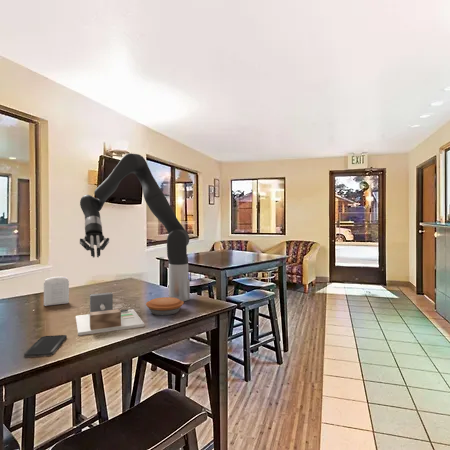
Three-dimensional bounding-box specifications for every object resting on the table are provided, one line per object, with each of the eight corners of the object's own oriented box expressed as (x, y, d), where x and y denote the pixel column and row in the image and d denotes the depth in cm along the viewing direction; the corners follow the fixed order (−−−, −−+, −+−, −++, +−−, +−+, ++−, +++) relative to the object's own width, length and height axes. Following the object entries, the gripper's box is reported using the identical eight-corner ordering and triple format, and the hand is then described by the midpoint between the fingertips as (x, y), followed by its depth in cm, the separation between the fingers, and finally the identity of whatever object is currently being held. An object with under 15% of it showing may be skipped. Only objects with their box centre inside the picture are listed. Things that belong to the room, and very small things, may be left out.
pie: (167, 319, 132) (167, 306, 132) (137, 313, 140) (137, 301, 140) (190, 309, 146) (190, 298, 146) (162, 304, 153) (162, 293, 153)
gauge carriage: (127, 310, 138) (127, 291, 138) (130, 315, 132) (130, 294, 132) (90, 314, 132) (89, 294, 132) (91, 320, 126) (91, 298, 126)
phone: (67, 334, 112) (52, 352, 98) (67, 338, 112) (52, 356, 98) (41, 336, 111) (22, 354, 96) (41, 339, 111) (22, 358, 96)
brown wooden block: (119, 322, 124) (119, 309, 124) (120, 325, 121) (120, 311, 120) (89, 326, 120) (89, 312, 120) (90, 330, 116) (90, 315, 116)
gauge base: (133, 311, 142) (133, 308, 142) (144, 326, 123) (144, 322, 123) (75, 318, 133) (75, 314, 133) (78, 335, 114) (77, 331, 114)
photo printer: (68, 301, 159) (67, 274, 158) (69, 303, 155) (69, 276, 155) (43, 304, 153) (42, 277, 153) (44, 306, 149) (43, 278, 149)
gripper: (78, 222, 156) (79, 251, 146) (109, 222, 162) (112, 250, 152) (77, 233, 161) (79, 262, 151) (107, 232, 167) (111, 260, 156)
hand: (96, 256), depth 151 cm, fingers closed
